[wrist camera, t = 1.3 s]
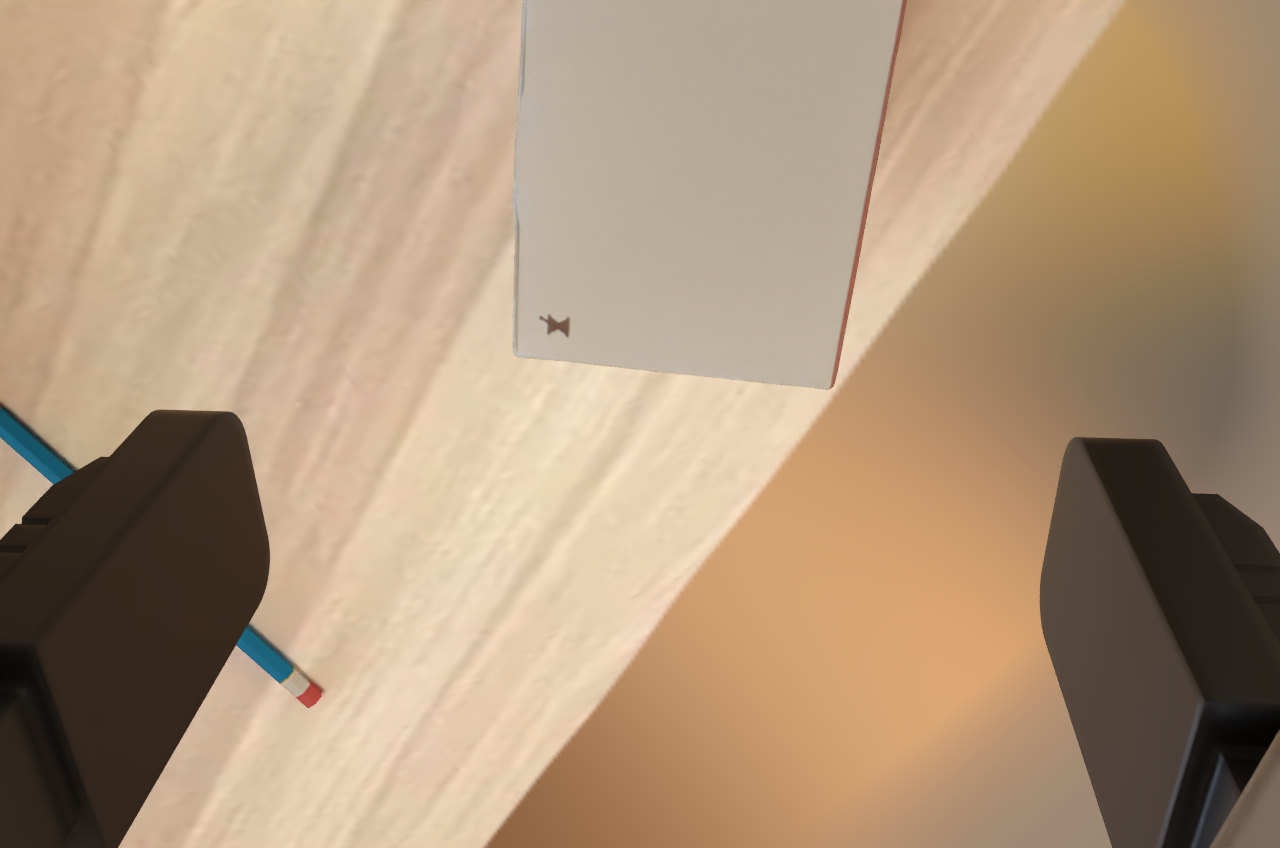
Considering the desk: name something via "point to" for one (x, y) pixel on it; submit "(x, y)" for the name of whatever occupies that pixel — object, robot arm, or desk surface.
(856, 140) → the small box
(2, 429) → the pencil
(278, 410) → the desk surface
